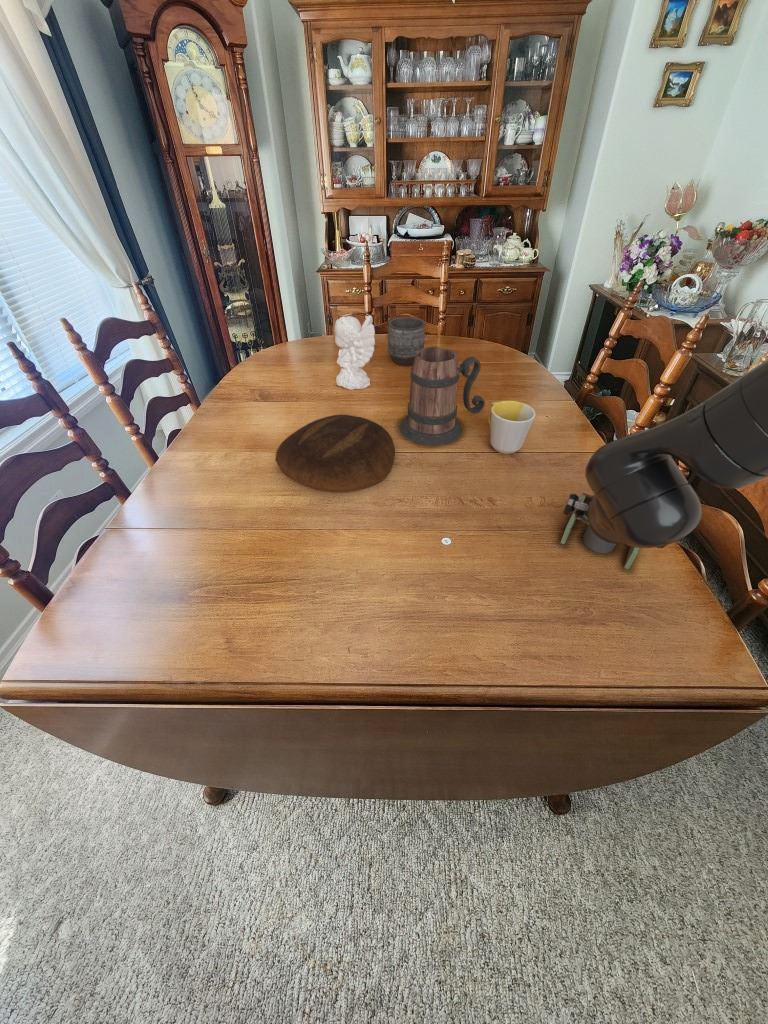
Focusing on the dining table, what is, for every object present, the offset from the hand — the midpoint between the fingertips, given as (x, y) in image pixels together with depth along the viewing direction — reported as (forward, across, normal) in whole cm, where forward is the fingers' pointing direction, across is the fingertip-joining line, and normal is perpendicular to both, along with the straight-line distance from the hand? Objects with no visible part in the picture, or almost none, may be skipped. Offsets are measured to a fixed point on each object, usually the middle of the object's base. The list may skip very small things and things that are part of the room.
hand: (610, 525), depth 69 cm
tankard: (+31, +46, -14) cm, 57 cm away
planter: (+53, +77, -36) cm, 100 cm away
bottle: (+15, 0, +2) cm, 15 cm away
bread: (+11, +60, +6) cm, 61 cm away
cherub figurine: (+37, +82, -20) cm, 92 cm away
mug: (+31, +29, -14) cm, 45 cm away
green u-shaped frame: (+16, 0, +1) cm, 16 cm away
